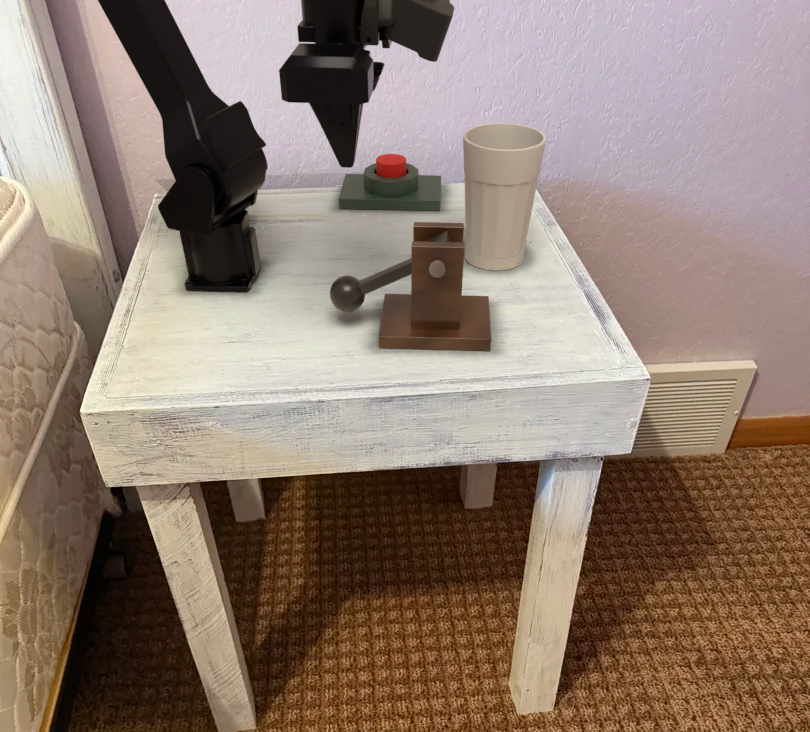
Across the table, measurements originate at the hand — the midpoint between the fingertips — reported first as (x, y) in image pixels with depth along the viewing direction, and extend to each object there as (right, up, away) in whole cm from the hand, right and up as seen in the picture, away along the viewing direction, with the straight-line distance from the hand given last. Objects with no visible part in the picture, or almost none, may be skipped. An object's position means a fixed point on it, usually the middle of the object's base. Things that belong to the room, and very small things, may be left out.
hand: (347, 166), depth 65 cm
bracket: (+8, -12, +6) cm, 16 cm away
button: (+3, +12, +27) cm, 29 cm away
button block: (+3, +10, +28) cm, 30 cm away
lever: (+4, -9, +4) cm, 11 cm away
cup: (+15, -2, +17) cm, 22 cm away
